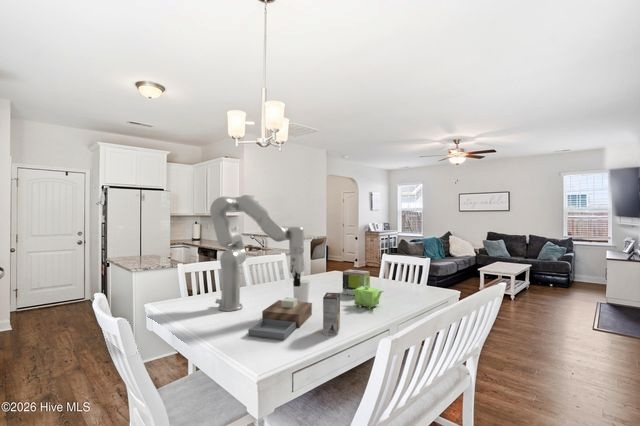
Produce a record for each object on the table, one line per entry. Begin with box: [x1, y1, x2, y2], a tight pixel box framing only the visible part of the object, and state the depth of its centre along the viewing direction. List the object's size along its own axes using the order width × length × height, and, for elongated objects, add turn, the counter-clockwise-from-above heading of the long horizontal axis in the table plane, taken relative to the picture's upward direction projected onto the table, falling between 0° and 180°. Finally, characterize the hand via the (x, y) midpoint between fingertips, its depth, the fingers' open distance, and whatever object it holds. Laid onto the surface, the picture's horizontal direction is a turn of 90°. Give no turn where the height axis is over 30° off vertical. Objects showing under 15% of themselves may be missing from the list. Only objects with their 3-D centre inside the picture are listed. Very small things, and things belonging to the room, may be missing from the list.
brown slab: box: [261, 299, 313, 329], centre depth 160 cm, size 18×20×6 cm
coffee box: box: [322, 292, 341, 336], centre depth 144 cm, size 9×6×16 cm
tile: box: [281, 297, 298, 308], centre depth 162 cm, size 6×6×3 cm
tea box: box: [342, 269, 371, 296], centre depth 210 cm, size 15×10×15 cm, turn 58°
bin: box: [247, 318, 297, 341], centre depth 142 cm, size 16×14×3 cm
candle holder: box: [292, 278, 311, 303], centre depth 192 cm, size 10×10×12 cm
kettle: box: [351, 286, 385, 309], centre depth 183 cm, size 15×14×11 cm
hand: (297, 286), depth 170 cm, fingers closed
